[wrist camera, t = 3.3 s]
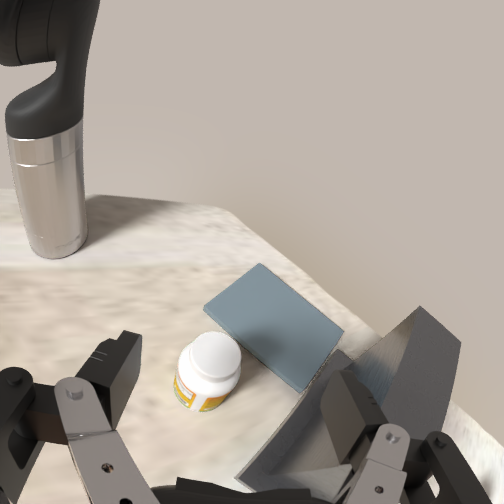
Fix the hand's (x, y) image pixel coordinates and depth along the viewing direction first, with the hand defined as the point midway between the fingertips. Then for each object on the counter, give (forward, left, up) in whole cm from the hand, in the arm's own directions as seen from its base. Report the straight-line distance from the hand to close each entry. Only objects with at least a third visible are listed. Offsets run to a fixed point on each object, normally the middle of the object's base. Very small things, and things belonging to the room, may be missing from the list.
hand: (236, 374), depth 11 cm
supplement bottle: (-3, +5, -20) cm, 20 cm away
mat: (-2, +18, -19) cm, 26 cm away
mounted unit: (+11, +10, -19) cm, 24 cm away
